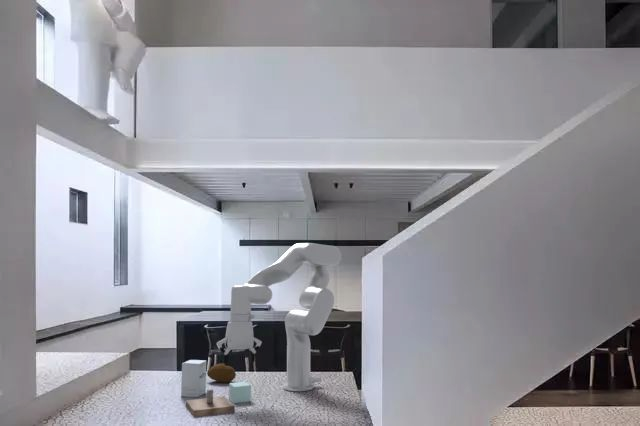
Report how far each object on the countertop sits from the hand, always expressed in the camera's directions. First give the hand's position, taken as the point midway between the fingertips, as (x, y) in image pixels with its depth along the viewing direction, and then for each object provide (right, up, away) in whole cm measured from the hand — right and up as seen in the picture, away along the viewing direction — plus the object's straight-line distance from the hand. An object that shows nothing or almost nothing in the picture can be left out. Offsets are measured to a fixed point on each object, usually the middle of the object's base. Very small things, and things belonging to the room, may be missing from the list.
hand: (238, 364), depth 206 cm
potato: (-12, -15, +28) cm, 34 cm away
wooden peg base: (-8, -12, -12) cm, 19 cm away
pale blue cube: (0, -13, -1) cm, 13 cm away
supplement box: (-19, -14, +7) cm, 24 cm away
